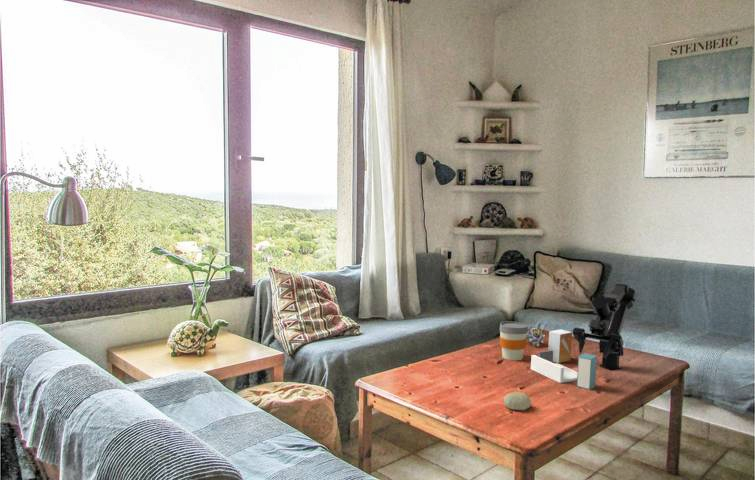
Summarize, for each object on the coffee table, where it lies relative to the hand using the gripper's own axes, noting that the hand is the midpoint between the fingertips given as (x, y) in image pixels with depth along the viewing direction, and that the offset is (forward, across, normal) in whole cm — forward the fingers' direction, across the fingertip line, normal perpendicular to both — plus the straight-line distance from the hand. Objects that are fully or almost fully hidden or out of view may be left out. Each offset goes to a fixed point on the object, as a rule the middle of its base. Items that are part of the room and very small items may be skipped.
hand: (591, 355), depth 224 cm
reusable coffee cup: (+1, -38, +15) cm, 41 cm away
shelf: (+6, -14, +10) cm, 18 cm away
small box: (-7, -21, +23) cm, 31 cm away
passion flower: (-18, -41, +34) cm, 56 cm away
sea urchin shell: (+38, -11, -21) cm, 45 cm away
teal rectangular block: (+11, 0, +5) cm, 12 cm away
